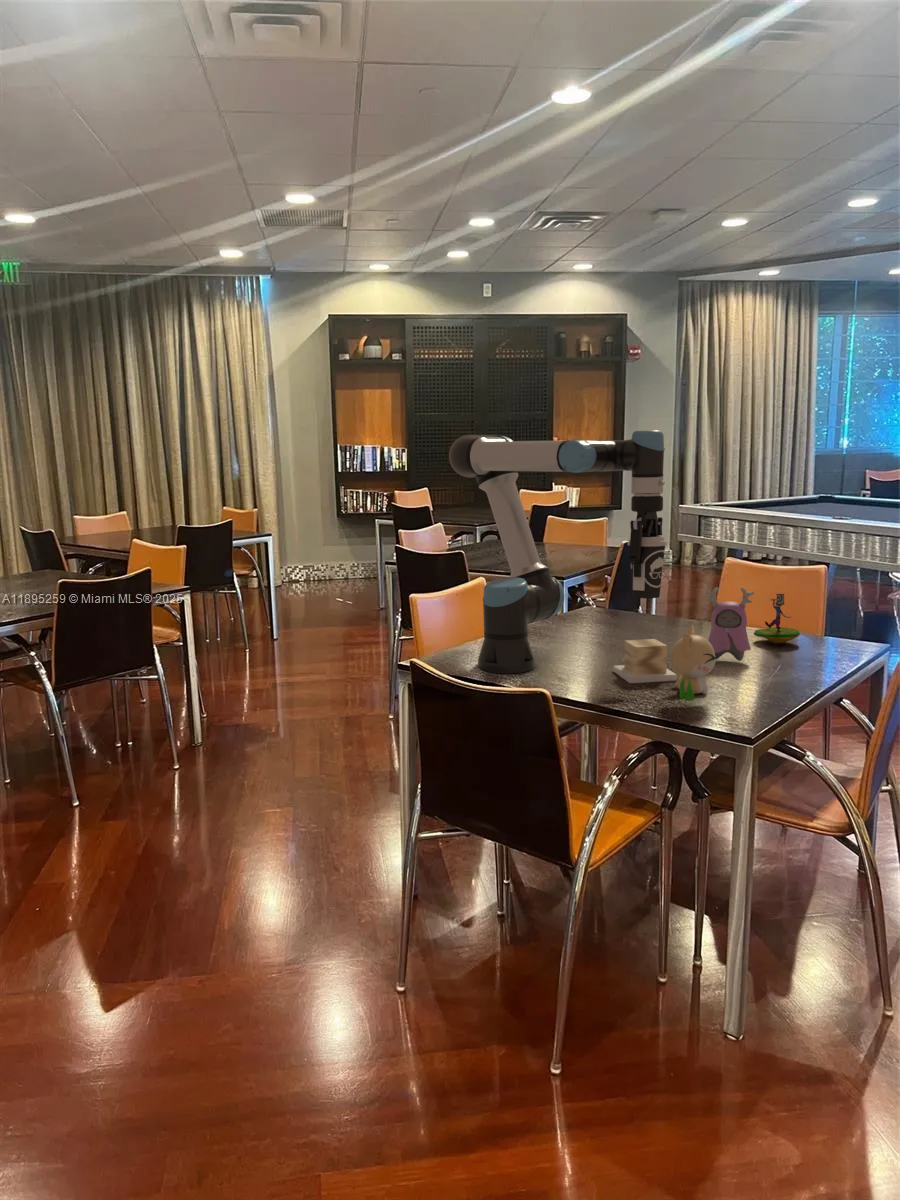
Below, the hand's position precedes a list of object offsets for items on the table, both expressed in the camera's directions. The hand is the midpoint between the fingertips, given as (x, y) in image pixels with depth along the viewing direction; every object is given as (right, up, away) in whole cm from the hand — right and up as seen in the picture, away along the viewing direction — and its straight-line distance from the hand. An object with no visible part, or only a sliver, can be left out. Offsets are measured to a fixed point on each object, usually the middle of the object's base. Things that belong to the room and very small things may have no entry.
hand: (645, 587), depth 202 cm
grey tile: (0, -22, +4) cm, 22 cm away
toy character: (+26, -20, +18) cm, 37 cm away
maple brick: (+1, -21, +3) cm, 21 cm away
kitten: (+8, -25, -12) cm, 29 cm away
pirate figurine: (+47, -16, +37) cm, 62 cm away
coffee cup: (0, -2, 0) cm, 2 cm away
